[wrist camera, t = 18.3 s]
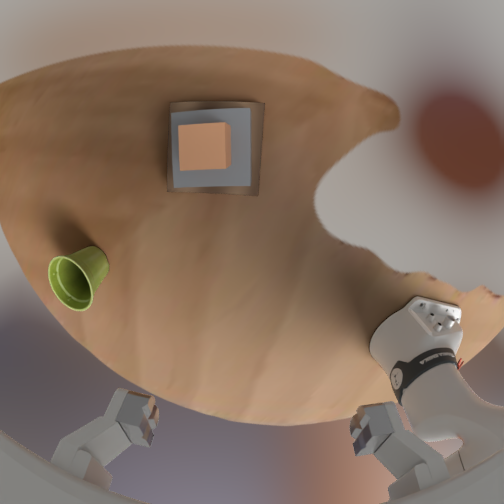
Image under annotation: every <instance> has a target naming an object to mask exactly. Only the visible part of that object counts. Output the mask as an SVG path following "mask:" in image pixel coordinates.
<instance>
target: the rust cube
mask: <svg viewBox="0 0 504 504" xmlns="http://www.w3.org/2000/svg"><path fill="white" fill-rule="evenodd" d="M178 134H179V162H180V171H186V170H206V169H226V168H228V167H229V166H230V165H231V126H230V125H229V124H227V123H225V122H220V123H203V124H190V125H179V126H178Z"/></svg>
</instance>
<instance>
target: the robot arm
mask: <svg viewBox="0 0 504 504" xmlns="http://www.w3.org/2000/svg"><path fill="white" fill-rule="evenodd" d="M460 319H461V309H460V307H459V306H455V305H451V304H447V303H443V302H439V301H435V300H431V299H427V298H423V297H419V296H417V297H414V298H413V299H412V300H411V301H410V302H409V303H408V304H407V305H406V306H405V307H404V308H403V309H401V310H399V311H398V312H396V313H394V314H393V315H391V316H390V317H388V318H387V319H386V320H385V321H384V322H383V323H382V324H381V325H380V326H379V327H378V328H377V330H376V331H375V333H374V335H373V336H372V339H371V342H370V353H371V355H372V357H373V358H374V359H375V360H376V361H377V362H378V363H379V364H380V366H381V367H382V368H383V370H384V371H385V373H386V374H387V376H388V377H389V379H390V381H391V385H392V388H393V391H394V393H395V396H396V398H397V400H398V402H399V404H400V405H401V406H402V407H403V408H404V410H405V413H406V415H407V418H408V421H409V423H410V426H411V428H412V431H413V433H414V434H413V433H412V432H410V431H409V430H405V428H404V426H403V423H402V420H401V418H400V415H399V413H398V410H397V408H396V405H395V403H394V402H393V401H389V402H384V403H376V404H369V405H362V406H359V407H358V409H357V410H356V411H357V414H356V415H354V416H353V417H352V419H351V421H350V433H351V436H352V437H353V438H354V439H355V441H354V443H353V447H354V451H355V456H361V455H368V454H374V456H375V457H376V458H377V459H378V460H379V461H380V462H381V463H382V464H383V465H384V466H385V467H386V468H387V469H388V470H389V471H390V472H391V473H392V474H393V475H394V476H395V477H396V478H397V479H398V480H396V481H395V482H394V483H392V484H391V485H390V486H389V487H388V491H389V496H390V498H389V500H388V502H384V503H381V504H504V406H503V407H502V406H496V405H493V404H490V403H487V402H485V401H484V400H482V399H481V398H479V397H478V396H477V395H476V394H475V393H474V392H473V390H472V389H471V388H470V387H469V385H468V384H467V383H466V381H465V380H464V378H463V377H462V376H461V374H460V373H459V371H458V370H459V369H460V367H461V365H462V364H463V362H464V361H463V362H462V363H461V360H462V358H460V360H459V361H458V363H457V362H456V357H455V355H456V353H457V350H458V348H459V346H460V343H461V340H462V336H463V331H462V328H461V326H460V325H459V322H460ZM460 363H461V364H460ZM459 365H460V366H459ZM158 420H159V410H158V407H157V406H156V405H155V398H154V396H151V395H146V394H142V393H137V392H133V391H130V390H126V389H122V388H118V389H117V390H116V391H115V393H114V395H113V397H112V400H111V402H110V404H109V406H108V408H107V410H106V412H105V415H104V416H103V417H101V416H100V417H98V418H97V419H95V420H93V421H92V422H90V423H88V424H87V425H85V426H83V427H81V428H80V429H78V430H76V431H75V432H73V433H71V434H69V435H68V436H66V437H64V438H62V439H61V440H60V443H59V445H58V447H57V449H56V451H55V453H54V455H53V457H52V459H51V462H48V461H46V460H44V459H43V458H41V457H39V456H38V455H36V454H35V453H33V452H31V451H30V450H28V449H27V448H25V447H24V446H22V445H20V444H19V443H18V442H16V441H15V440H14V439H12V438H11V437H10V436H8V435H7V434H5V433H4V432H3V431H1V430H0V504H150V503H146V502H142V501H139V500H136V499H133V498H129V497H126V496H123V495H120V494H117V493H115V492H112V491H109V488H110V484H111V481H112V475H111V474H110V473H109V472H108V471H107V470H106V469H105V468H104V466H105V465H107V464H108V463H109V462H110V461H112V460H113V459H114V458H115V457H117V456H118V455H119V454H120V453H121V452H123V451H124V450H125V449H126V448H127V447H129V446H130V445H131V443H133V444H137V445H141V446H145V447H151V444H152V440H153V437H154V434H153V432H152V429H154V428H156V427H157V424H158ZM450 438H458V439H461V440H462V441H463V445H462V447H461V448H459V450H457V451H456V452H454V453H453V454H451V455H450V456H448V457H447V458H445V459H443V456H442V455H441V454H440V453H438V452H437V451H436V450H434V449H433V448H432V447H430V446H429V445H428V444H426V443H425V442H424V441H427V442H434V441H441V440H446V439H450Z"/></svg>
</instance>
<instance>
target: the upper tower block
mask: <svg viewBox="0 0 504 504" xmlns="http://www.w3.org/2000/svg"><path fill="white" fill-rule="evenodd" d="M220 122H225V123H227V124H229V125H230V126H231V165H230V166H229V167H228V168H226V169H206V170H186V171H180V162H179V134H178V126H179V125H190V124H203V123H220ZM171 135H172V165H173V184H174V188H182V187H211V186H251V109H250V108H227V109H209V110H196V111H185V112H176V113H171Z"/></svg>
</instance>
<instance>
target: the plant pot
mask: <svg viewBox="0 0 504 504" xmlns="http://www.w3.org/2000/svg"><path fill="white" fill-rule="evenodd" d="M108 271H109V264H108V261H107V258H106V255H105V254H104V252H103V251H102V250H100V249H99V248H97V247H95V246H89V247H86V248H84V249H82V250H79V251H77V252H75V253H72V254H70V255H65V256H57V257H55V258H53V259H52V260H51V262H50V264H49V268H48V277H49V282H50V285H51V288H52V290H53V292H54V293H55V295H56V296H57V298H58V299H59V300H60V301H61V302H62V303H63V304H64V305H65V306H67V307H68V308H70V309H72V310H75V311H84V310H86V309H88V308H89V307H90V305H91V304H92V301H93V296H94V293H95V291H96V290H97V288H98V287H99V285H100V284H101V282H102V281H103V279H104V278H105V276H106V275H107V273H108Z"/></svg>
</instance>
